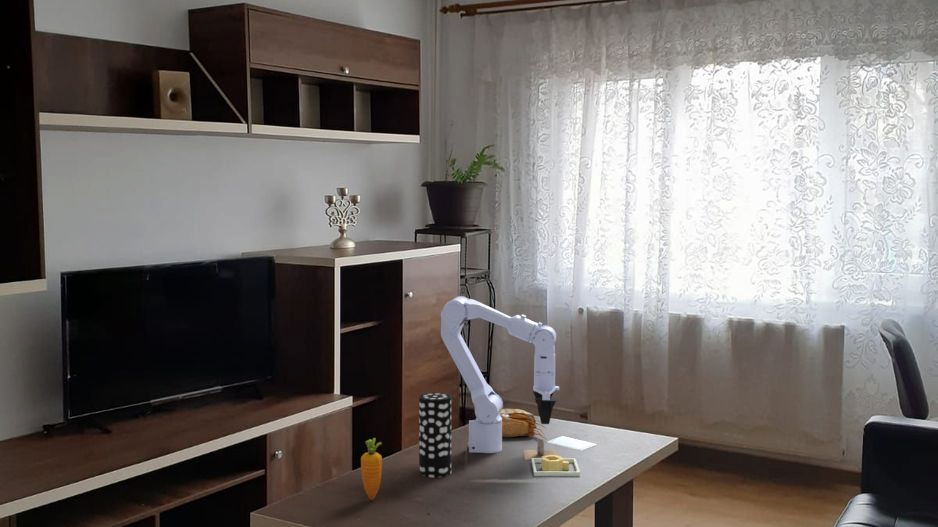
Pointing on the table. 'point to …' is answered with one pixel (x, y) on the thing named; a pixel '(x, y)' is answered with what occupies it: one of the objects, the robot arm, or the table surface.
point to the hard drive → (572, 443)
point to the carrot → (371, 469)
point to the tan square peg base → (538, 451)
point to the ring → (554, 463)
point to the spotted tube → (435, 434)
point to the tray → (556, 473)
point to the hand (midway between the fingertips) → (544, 420)
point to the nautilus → (518, 423)
